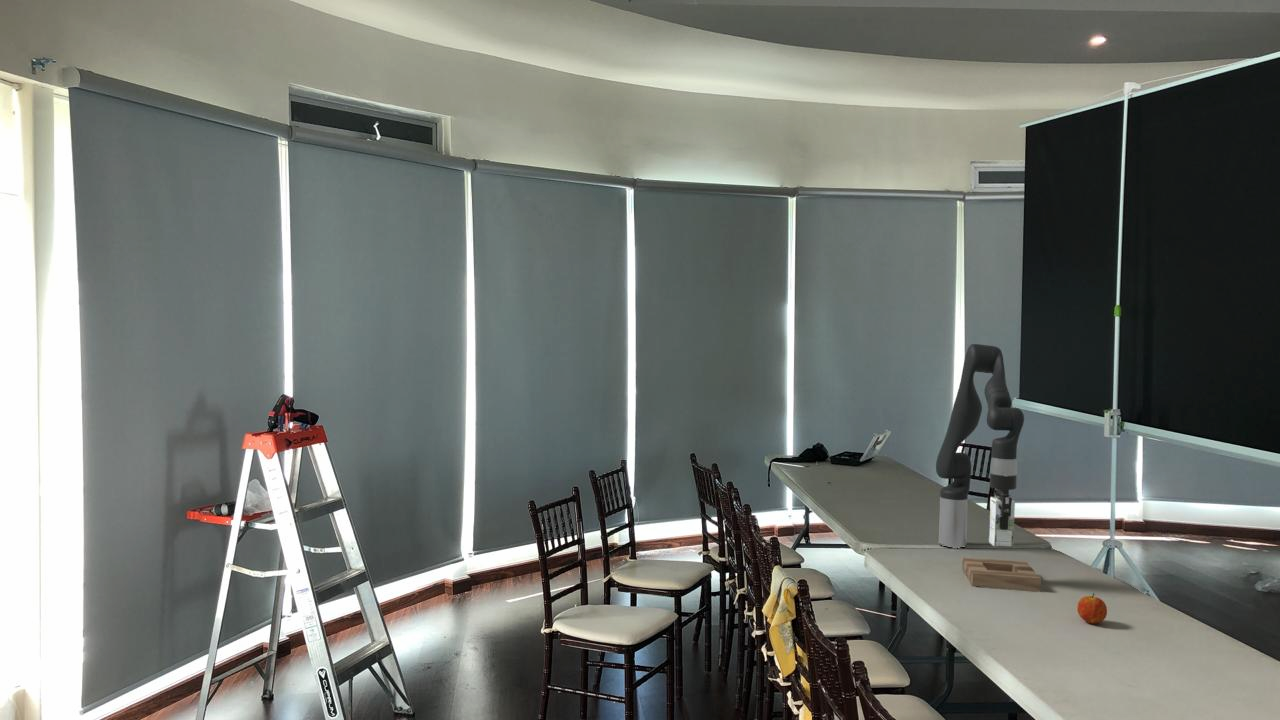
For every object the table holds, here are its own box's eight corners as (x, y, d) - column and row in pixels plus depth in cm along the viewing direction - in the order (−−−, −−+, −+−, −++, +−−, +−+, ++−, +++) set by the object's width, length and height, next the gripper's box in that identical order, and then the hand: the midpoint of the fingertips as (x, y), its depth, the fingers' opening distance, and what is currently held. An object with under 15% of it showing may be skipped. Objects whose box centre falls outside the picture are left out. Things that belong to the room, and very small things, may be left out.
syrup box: (1007, 543, 271) (1008, 496, 271) (1013, 547, 265) (1015, 500, 265) (988, 542, 272) (989, 496, 271) (994, 547, 266) (995, 499, 265)
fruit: (1070, 619, 232) (1071, 590, 232) (1090, 617, 235) (1091, 587, 235) (1092, 628, 226) (1093, 597, 226) (1112, 625, 228) (1113, 595, 228)
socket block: (962, 569, 280) (962, 557, 280) (1025, 574, 276) (1026, 561, 276) (972, 586, 262) (972, 573, 261) (1040, 591, 258) (1040, 578, 258)
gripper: (986, 468, 276) (984, 521, 276) (994, 475, 262) (993, 531, 262) (1011, 469, 274) (1009, 522, 275) (1021, 477, 260) (1019, 533, 261)
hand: (1001, 526), depth 268 cm, fingers closed on syrup box, 6 cm apart
